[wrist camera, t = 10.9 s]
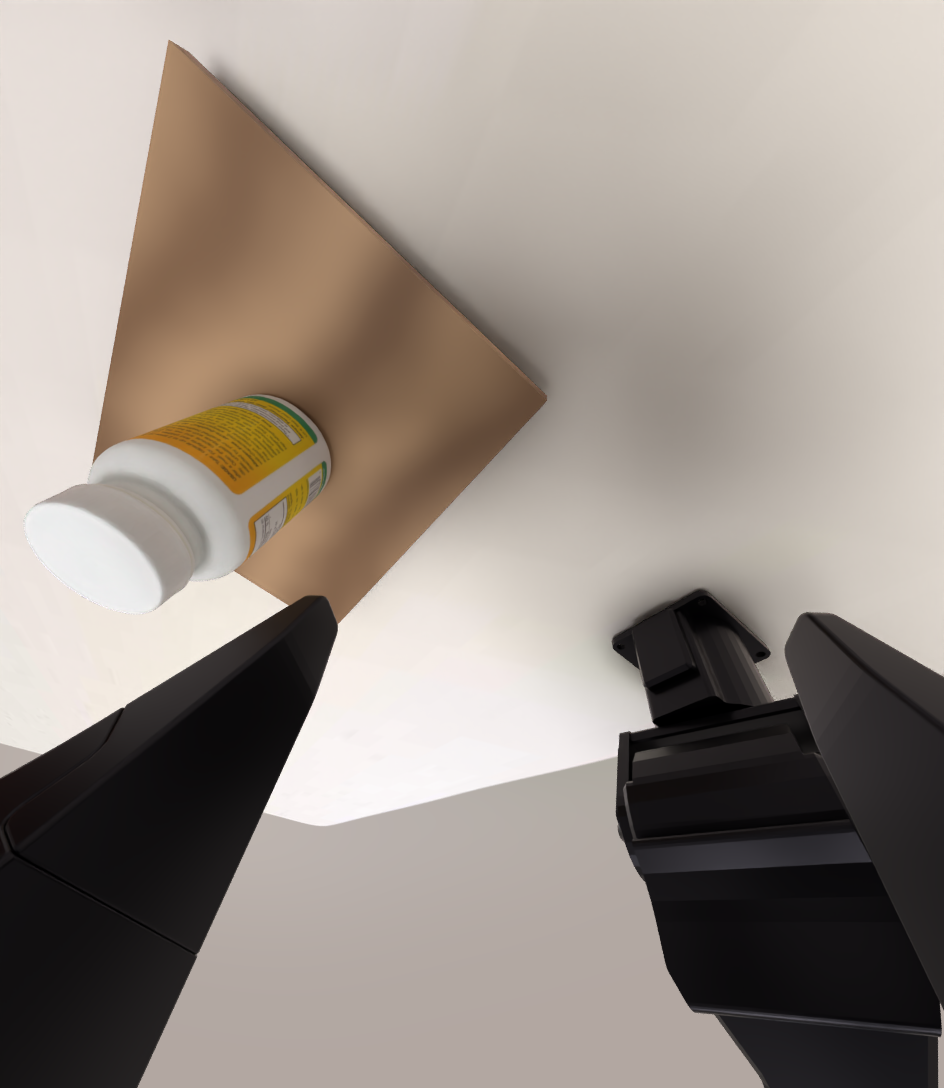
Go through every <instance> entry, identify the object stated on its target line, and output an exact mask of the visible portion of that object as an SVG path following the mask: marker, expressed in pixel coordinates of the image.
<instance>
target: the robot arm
mask: <svg viewBox="0 0 944 1088" xmlns="http://www.w3.org/2000/svg"><path fill="white" fill-rule="evenodd" d="M700 599H704V600H702V601H699V600H700ZM337 631H338V624H337V620H336V618H335V615H334V613H333V610H332V608H331V605H330V603H329V600H328V599H327V598H326V597H325V596H322V595H307V596H304V597H303V598H301V599H299V600H298V601H296V602H294V603H293V604H291V605H289V606H288V607H286V608H285V609H283V610H281V611H280V612H278V613H276V614H275V615H273V616H271V617H270V618H268V619H266V620H265V621H263V622H262V623H260V624H258V625H257V626H255V627H253V628H252V629H250V630H248V631H247V632H245V633H243V634H242V635H240V636H239V637H237V638H235V639H234V640H232V641H230V642H229V643H227V644H225V645H224V646H222V647H221V648H219V649H217V650H216V651H214V652H212V653H211V654H209V655H207V656H206V657H204V658H202V659H201V660H199V661H198V662H196V663H194V664H193V665H191V666H189V667H188V668H186V669H184V670H183V671H181V672H179V673H178V674H176V675H175V676H173V677H171V678H170V679H168V680H166V681H165V682H163V683H161V684H160V685H158V686H157V687H155V688H153V689H152V690H150V691H148V692H147V693H145V694H143V695H142V696H140V697H138V698H137V699H135V700H134V701H132V702H130V703H129V704H127V705H126V707H125V708H120V709H119V710H117V711H115V712H114V713H112V714H110V715H109V716H107V717H106V718H104V719H102V720H101V721H99V722H97V723H96V724H94V725H92V726H91V727H89V728H87V729H86V730H84V731H82V732H81V733H79V734H77V735H76V736H74V737H72V738H70V739H69V740H67V741H65V742H64V743H62V744H60V745H59V746H57V747H55V748H53V749H52V750H50V751H48V752H46V753H44V754H43V755H41V756H39V757H37V758H36V759H34V760H32V761H30V762H28V763H27V764H25V765H23V766H21V767H20V768H18V769H16V770H14V771H13V772H11V773H9V774H7V775H5V776H3V777H2V778H0V1088H137V1087H138V1085H139V1083H140V1081H141V1078H142V1076H143V1074H144V1072H145V1070H146V1068H147V1065H148V1063H149V1061H150V1059H151V1057H152V1054H153V1052H154V1050H155V1048H156V1046H157V1043H158V1041H159V1039H160V1037H161V1035H162V1033H163V1030H164V1028H165V1026H166V1024H167V1022H168V1019H169V1017H170V1015H171V1013H172V1011H173V1009H174V1006H175V1004H176V1002H177V1000H178V998H179V995H180V993H181V991H182V989H183V987H184V985H185V982H186V980H187V978H188V976H189V974H190V971H191V969H192V967H193V965H194V963H195V960H196V958H197V953H198V952H199V951H200V949H201V947H202V944H203V942H204V940H205V938H206V936H207V933H208V931H209V929H210V927H211V925H212V923H213V920H214V918H215V916H216V913H217V911H218V909H219V907H220V905H221V903H222V900H223V898H224V896H225V894H226V892H227V890H228V888H229V885H230V883H231V881H232V879H233V877H234V874H235V872H236V870H237V868H238V865H239V863H240V861H241V859H242V857H243V855H244V852H245V850H246V848H247V846H248V843H249V841H250V839H251V837H252V835H253V833H254V831H255V828H256V826H257V824H258V822H259V819H260V818H261V815H262V813H263V811H264V809H265V807H266V804H267V802H268V800H269V798H270V796H271V793H272V791H273V789H274V787H275V785H276V783H277V780H278V778H279V776H280V774H281V772H282V769H283V767H284V765H285V763H286V761H287V758H288V756H289V754H290V752H291V750H292V748H293V745H294V743H295V741H296V739H297V737H298V734H299V732H300V730H301V728H302V726H303V723H304V721H305V719H306V717H307V715H308V713H309V710H310V708H311V706H312V703H313V701H314V699H315V696H316V694H317V691H318V688H319V686H320V683H321V680H322V677H323V674H324V671H325V668H326V665H327V662H328V659H329V656H330V653H331V650H332V647H333V644H334V641H335V638H336V636H337ZM619 644H622V645H619ZM612 645H613V649H614V650H615V651H616V652H618V653H619V654H620V655H621V656H623V657H624V658H625V659H626V660H628V661H629V662H630V663H632V664H633V665H634V666H635V667H637V668H638V669H639V670H640V673H641V677H642V682H643V685H644V687H645V691H646V695H647V699H648V704H649V708H650V713H651V717H652V722H653V723H654V724H655V728H651V729H646V730H642V731H637V732H633V733H631V732H630V731H628V732H624V733H620V735H619V748H618V767H617V769H618V770H617V796H616V817H617V820H618V832H619V836H620V838H621V839H622V840H623V841H624V842H625V844H626V847H627V850H628V853H629V856H630V858H631V860H632V862H633V865H634V867H635V869H636V870H637V872H638V874H639V875H640V877H641V878H642V879H643V880H644V881H645V882H646V885H647V889H648V892H649V895H650V899H651V902H652V906H653V910H654V915H655V918H656V923H657V927H658V932H659V936H660V941H661V945H662V950H663V954H664V959H665V963H666V966H667V969H668V972H669V974H670V975H671V977H672V979H673V980H674V982H675V984H676V986H677V987H678V989H679V991H680V993H681V994H682V996H683V998H684V999H685V1001H686V1003H687V1004H688V1006H689V1007H690V1009H691V1010H692V1011H693V1012H695V1013H706V1014H714V1015H715V1016H716V1018H717V1019H718V1020H719V1022H720V1023H721V1024H722V1026H723V1027H724V1028H725V1030H726V1031H727V1033H728V1034H729V1035H730V1036H731V1038H732V1039H733V1041H734V1042H735V1044H736V1045H737V1046H738V1048H739V1049H740V1050H741V1052H742V1053H743V1054H744V1056H745V1057H746V1058H747V1060H748V1061H749V1063H750V1064H751V1065H752V1067H753V1068H754V1070H755V1071H756V1072H757V1074H758V1075H759V1077H760V1079H761V1080H762V1082H763V1085H764V1088H938V1037H941V1033H942V1032H941V1031H942V1028H941V1013H940V1003H941V1005H942V1007H943V1010H944V677H943V676H941V675H939V674H938V673H936V672H934V671H932V670H931V669H929V668H927V667H925V666H924V665H922V664H920V663H918V662H917V661H915V660H913V659H912V658H910V657H908V656H906V655H905V654H903V653H901V652H899V651H898V650H896V649H894V648H892V647H891V646H889V645H887V644H885V643H884V642H882V641H880V640H878V639H877V638H875V637H873V636H871V635H870V634H868V633H866V632H864V631H863V630H861V629H859V628H857V627H856V626H854V625H852V624H851V623H849V622H847V621H845V620H844V619H842V618H840V617H838V616H836V615H834V614H831V613H817V612H806V613H803V614H801V615H800V616H799V617H798V619H797V621H796V623H795V625H794V628H793V630H792V632H791V634H790V636H789V638H788V640H787V642H786V645H785V657H786V661H787V664H788V666H789V669H790V672H791V675H792V678H793V681H794V683H795V686H796V689H797V692H798V694H796V695H794V697H793V698H788V699H784V700H779V701H775V702H774V700H773V698H772V696H771V694H770V692H769V690H768V688H767V686H766V685H765V683H764V681H763V679H762V677H761V675H760V673H759V671H758V669H757V667H756V665H755V663H757V662H759V661H762V660H764V659H766V658H768V657H769V656H770V651H769V649H768V647H767V646H766V645H765V644H764V643H763V642H762V641H761V640H760V639H759V638H758V637H757V636H755V635H754V634H753V633H752V632H751V631H750V630H749V629H748V628H747V627H746V626H745V625H743V624H742V623H741V622H740V621H739V620H738V619H737V618H736V617H735V616H734V615H733V614H731V613H730V612H729V611H728V610H727V609H726V608H725V607H724V606H723V605H722V604H721V603H719V602H718V601H717V600H716V599H715V598H714V597H713V596H712V595H711V594H710V593H708V592H707V591H697V592H695V593H693V594H691V595H689V596H688V597H686V598H684V599H682V600H681V601H679V602H677V603H675V604H673V605H672V606H670V607H668V608H666V609H665V610H663V611H661V612H659V613H658V614H656V615H654V616H652V617H650V618H649V619H647V620H645V621H643V622H642V623H640V624H638V625H636V626H635V627H633V628H631V629H629V630H628V631H626V632H624V633H622V634H620V635H619V636H617V637H615V638H614V639H613V640H612Z"/></svg>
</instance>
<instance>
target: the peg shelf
mask: <svg viewBox="0 0 944 1088" xmlns="http://www.w3.org/2000/svg"><path fill="white" fill-rule="evenodd" d="M257 394H261V395H269V396H274V397H277V398H280V399H283V400H285V401H287V402H289V403H290V404H292V405H293V406H295V407H296V408H298V409H299V410H300V411H302V412H303V413H304V414H305V415H306V416H307V417H308V418H309V419H310V420H311V421H312V422H313V423H314V424H315V425H316V426H317V428H318V429H319V431H320V432H321V434H322V436H323V437H324V439H325V441H326V444H327V446H328V449H329V453H330V459H331V472H330V477H329V480H328V482H327V484H326V486H325V488H324V489H323V490H322V492H321V493H320V494H319V495H318V496H317V497H316V498H315V499H314V500H313V501H312V502H310V503H309V504H308V505H307V506H306V507H305V508H304V509H303V510H302V511H301V512H299V513H298V514H297V515H296V516H295V517H294V518H292V519H291V520H290V521H289V522H288V523H287V524H286V525H285V526H284V527H283V528H281V529H280V530H279V531H278V532H277V533H276V534H275V535H274V536H273V537H272V538H271V539H269V540H268V541H267V542H266V543H265V544H264V545H263V546H262V547H261V548H260V549H258V550H257V551H256V552H255V553H254V554H253V555H252V556H251V557H250V558H248V559H247V560H246V561H245V562H244V563H243V564H242V565H240V566H239V567H238V568H237V569H235V570H234V571H235V572H237V573H238V574H240V575H241V576H243V577H245V578H246V579H248V580H249V581H251V582H253V583H254V584H256V585H257V586H259V587H260V588H262V589H264V590H265V591H267V592H268V593H270V594H272V595H273V596H275V597H276V598H278V599H279V600H281V601H283V602H284V603H286V604H287V605H291V604H293V603H294V602H296V601H298V600H299V599H301V598H303V597H304V596H307V595H322V596H325V597H326V598H327V599H328V600H329V603H330V605H331V608H332V610H333V613H334V615H335V618H336V620H337V624H338V623H339V622H340V621H341V620H342V619H343V618H344V617H345V616H346V615H347V614H348V613H349V612H350V611H351V610H352V609H353V607H354V606H355V605H356V604H357V603H358V602H359V601H360V600H361V599H362V598H363V597H364V596H365V595H366V594H367V593H368V591H369V590H370V589H371V588H372V587H373V586H374V585H375V584H376V583H377V582H378V581H379V580H380V579H381V578H382V576H383V575H384V574H385V573H386V572H387V571H388V570H389V569H390V568H391V567H392V566H393V565H394V564H395V563H396V562H397V560H398V559H399V558H400V557H401V556H402V555H403V554H404V553H405V552H406V551H407V550H408V549H409V548H410V547H411V545H412V544H413V543H414V542H415V541H416V540H417V539H418V538H419V537H420V536H421V535H422V534H423V533H424V532H425V531H426V529H427V528H428V527H429V526H430V525H431V524H432V523H433V522H434V521H435V520H436V519H437V518H438V517H439V516H440V515H441V513H442V512H443V511H444V510H445V509H446V508H447V507H448V506H449V505H450V504H451V503H452V502H453V501H454V500H455V498H456V497H457V496H458V495H459V494H460V493H461V492H462V491H463V490H464V489H465V488H466V487H467V486H468V485H469V484H470V482H471V481H472V480H473V479H474V478H475V477H476V476H477V475H478V474H479V473H480V472H481V471H482V470H483V469H484V468H485V466H486V465H487V464H488V463H489V462H490V461H491V460H492V459H493V458H494V457H495V456H496V455H497V454H498V453H499V451H500V450H501V449H502V448H503V447H504V446H505V445H506V444H507V443H508V442H509V441H510V440H511V439H512V438H513V437H514V435H515V434H516V433H517V432H518V431H519V430H520V429H521V428H522V427H523V426H524V425H525V424H526V423H527V422H528V421H529V419H530V418H531V417H532V416H533V415H534V414H535V413H536V412H537V411H538V410H539V409H540V408H541V407H542V406H543V404H544V403H545V402H546V401H547V395H546V394H545V393H544V392H543V391H542V390H541V389H539V388H538V387H537V386H536V385H535V384H534V383H533V382H532V381H531V380H530V379H529V378H528V377H527V376H526V375H525V374H524V373H523V372H522V371H521V370H520V369H519V368H518V367H517V366H516V365H514V364H513V363H512V362H511V361H510V360H509V359H508V358H507V357H506V356H505V355H504V354H503V353H502V352H501V351H500V350H499V349H498V348H497V347H496V346H495V345H494V344H493V343H492V342H490V341H489V340H488V339H487V338H486V337H485V336H484V335H483V334H482V333H481V332H480V331H479V330H478V329H477V328H476V327H475V326H474V325H473V324H472V323H471V322H470V321H469V320H468V319H467V318H465V317H464V316H463V315H462V314H461V313H460V312H459V311H458V310H457V309H456V308H455V307H454V306H453V305H452V304H451V303H450V302H449V301H448V300H447V299H446V298H445V297H444V296H443V295H442V294H440V293H439V292H438V291H437V290H436V289H435V288H434V287H433V286H432V285H431V284H430V283H429V282H428V281H427V280H426V279H425V278H424V277H423V276H422V275H421V274H420V273H419V272H418V271H416V270H415V269H414V268H413V267H412V266H411V265H410V264H409V263H408V262H407V261H406V260H405V259H404V258H403V257H402V256H401V255H400V254H399V253H398V252H397V251H396V250H395V249H394V248H393V247H391V246H390V245H389V244H388V243H387V242H386V241H385V240H384V239H383V238H382V237H381V236H380V235H379V234H378V233H377V232H376V231H375V230H374V229H373V228H372V227H371V226H370V225H369V224H367V223H366V222H365V221H364V220H363V219H362V218H361V217H360V216H359V215H358V214H357V213H356V212H355V211H354V210H353V209H352V208H351V207H350V206H349V205H348V204H347V203H346V202H345V201H344V200H342V199H341V198H340V197H339V196H338V195H337V194H336V193H335V192H334V191H333V190H332V189H331V188H330V187H329V186H328V185H327V184H326V183H325V182H324V181H323V180H322V179H321V178H320V177H319V176H317V175H316V174H315V173H314V172H313V171H312V170H311V169H310V168H309V167H308V166H307V165H306V164H305V163H304V162H303V161H302V160H301V159H300V158H299V157H298V156H297V155H296V154H295V153H293V152H292V151H291V150H290V149H289V148H288V147H287V146H286V145H285V144H284V143H283V142H282V141H281V140H280V139H279V138H278V137H277V136H276V135H275V134H274V133H273V132H272V131H271V130H270V129H268V128H267V127H266V126H265V125H264V124H263V123H262V122H261V121H260V120H259V119H258V118H257V117H256V116H255V115H254V114H253V113H252V112H251V111H250V110H249V109H248V108H247V107H246V106H244V105H243V104H242V103H241V102H240V101H239V100H238V99H237V98H236V97H235V96H234V95H233V94H232V93H231V92H230V91H229V90H228V89H227V88H226V87H225V86H224V85H223V84H222V83H221V82H219V81H218V80H217V79H216V78H215V77H214V76H213V75H212V74H211V73H210V72H209V71H208V70H207V69H206V68H205V67H204V66H203V65H202V64H201V63H200V62H199V61H198V60H197V59H196V58H194V57H193V56H192V55H191V54H190V53H189V52H188V51H186V50H185V49H183V48H182V47H180V46H178V45H177V44H175V43H173V42H172V41H170V40H169V41H168V46H167V52H166V57H165V63H164V69H163V74H162V80H161V85H160V91H159V96H158V102H157V108H156V113H155V119H154V124H153V130H152V135H151V141H150V147H149V152H148V158H147V163H146V169H145V174H144V180H143V186H142V191H141V197H140V202H139V208H138V213H137V219H136V225H135V230H134V236H133V241H132V247H131V252H130V258H129V264H128V269H127V275H126V280H125V286H124V291H123V297H122V303H121V308H120V314H119V319H118V325H117V330H116V336H115V342H114V347H113V353H112V358H111V364H110V369H109V375H108V381H107V386H106V392H105V397H104V403H103V408H102V414H101V420H100V425H99V431H98V436H97V442H96V447H95V453H94V459H93V463H94V462H95V460H96V459H97V458H98V457H99V456H100V455H101V454H102V453H103V452H104V451H105V450H107V449H108V448H110V447H112V446H113V445H116V444H118V443H120V442H123V441H125V440H128V439H131V438H134V437H136V436H139V435H142V434H145V433H147V432H150V431H152V430H155V429H158V428H161V427H163V426H166V425H169V424H171V423H174V422H177V421H179V420H182V419H185V418H187V417H190V416H193V415H195V414H198V413H201V412H203V411H206V410H209V409H211V408H214V407H217V406H219V405H222V404H225V403H228V402H231V401H233V400H236V399H239V398H242V397H245V396H249V395H257ZM92 465H93V464H92Z"/></svg>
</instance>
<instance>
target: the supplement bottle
mask: <svg viewBox="0 0 944 1088" xmlns="http://www.w3.org/2000/svg"><path fill="white" fill-rule="evenodd" d="M330 472H331V459H330V453H329V449H328V446H327V444H326V441H325V439H324V437H323V436H322V434H321V432H320V431H319V429H318V428H317V426H316V425H315V424H314V423H313V422H312V421H311V420H310V419H309V418H308V417H307V416H306V415H305V414H304V413H303V412H302V411H300V410H299V409H298V408H296V407H295V406H293V405H292V404H290V403H289V402H287V401H285V400H283V399H280V398H277V397H274V396H269V395H261V394H257V395H249V396H245V397H242V398H239V399H236V400H233V401H231V402H228V403H225V404H222V405H219V406H217V407H214V408H211V409H209V410H206V411H203V412H201V413H198V414H195V415H193V416H190V417H187V418H185V419H182V420H179V421H177V422H174V423H171V424H169V425H166V426H163V427H161V428H158V429H155V430H152V431H150V432H147V433H145V434H142V435H139V436H136V437H134V438H131V439H128V440H125V441H123V442H120V443H118V444H116V445H113V446H112V447H110V448H108V449H107V450H105V451H104V452H103V453H102V454H101V455H100V456H99V457H98V458H97V459H96V460H95V462H94V463H93V465H92V467H91V469H90V472H89V476H88V483H87V484H81V485H76V486H73V487H71V488H69V489H67V490H65V491H64V492H61V493H59V494H57V495H55V496H53V497H51V498H48V499H46V500H44V501H42V502H40V503H38V504H36V505H35V506H33V507H32V508H31V509H30V510H29V511H28V513H27V514H26V516H25V518H24V531H25V535H26V538H27V541H28V543H29V544H30V546H31V548H32V550H33V552H34V553H35V555H36V556H37V558H38V559H39V560H40V561H41V563H42V564H43V565H44V566H45V567H46V568H47V569H48V570H49V571H50V572H51V573H52V574H53V575H54V576H55V577H56V578H57V579H58V580H60V581H61V582H62V583H63V584H65V585H66V586H67V587H68V588H70V589H71V590H73V591H74V592H76V593H78V594H79V595H81V596H82V597H84V598H86V599H88V600H89V601H91V602H93V603H95V604H97V605H100V606H102V607H105V608H107V609H110V610H114V611H117V612H122V613H127V614H144V613H148V612H151V611H153V610H155V609H156V608H158V607H159V606H160V605H162V604H163V603H164V602H165V601H167V600H168V599H169V598H170V597H172V596H173V595H174V594H176V593H177V592H179V591H180V590H182V589H183V588H184V587H185V586H186V585H187V583H188V582H189V581H208V580H214V579H217V578H220V577H223V576H225V575H228V574H229V573H231V572H233V571H234V570H235V569H237V568H238V567H239V566H240V565H242V564H243V563H244V562H245V561H246V560H247V559H248V558H250V557H251V556H252V555H253V554H254V553H255V552H256V551H257V550H258V549H260V548H261V547H262V546H263V545H264V544H265V543H266V542H267V541H268V540H269V539H271V538H272V537H273V536H274V535H275V534H276V533H277V532H278V531H279V530H280V529H281V528H283V527H284V526H285V525H286V524H287V523H288V522H289V521H290V520H291V519H292V518H294V517H295V516H296V515H297V514H298V513H299V512H301V511H302V510H303V509H304V508H305V507H306V506H307V505H308V504H309V503H310V502H312V501H313V500H314V499H315V498H316V497H317V496H318V495H319V494H320V493H321V492H322V490H323V489H324V488H325V486H326V484H327V482H328V480H329V477H330Z"/></svg>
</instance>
